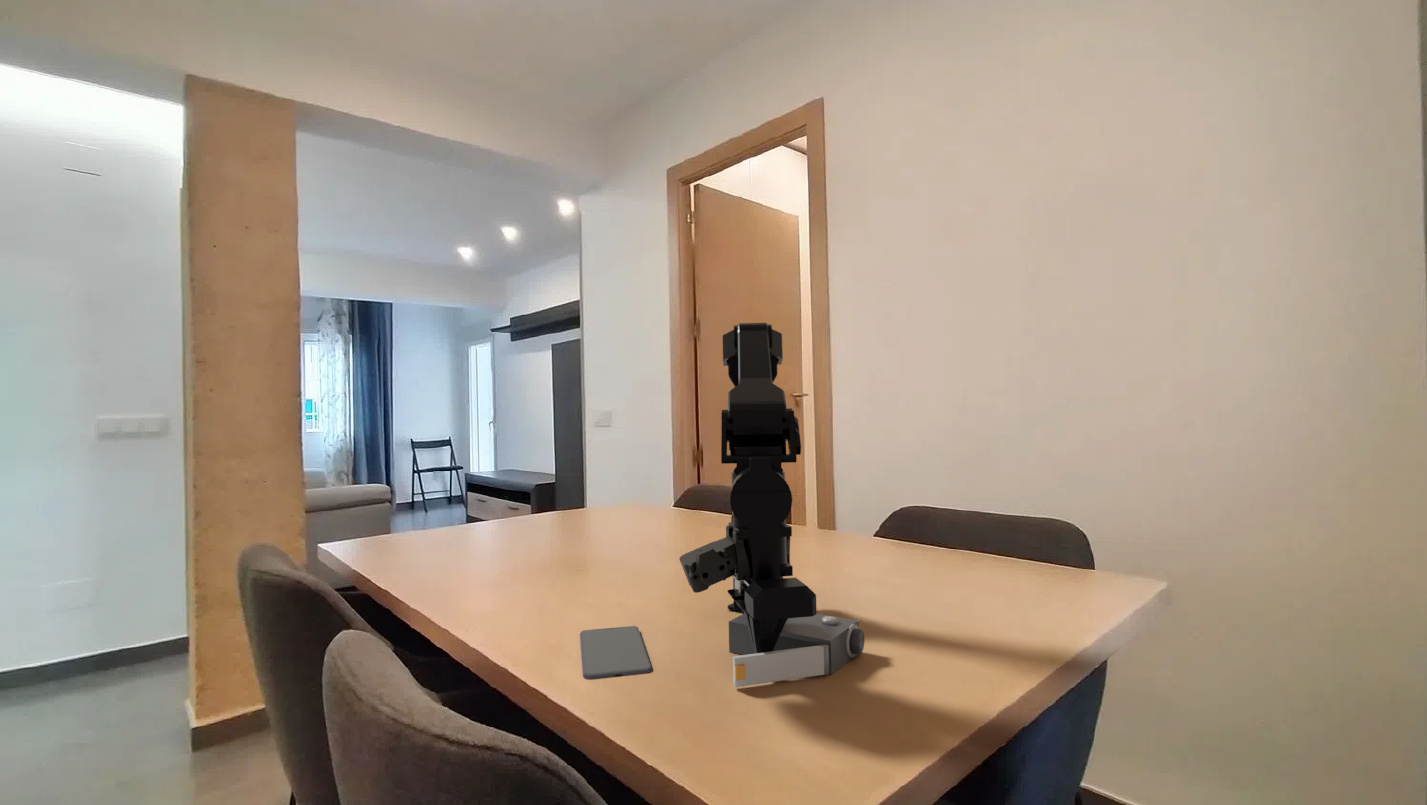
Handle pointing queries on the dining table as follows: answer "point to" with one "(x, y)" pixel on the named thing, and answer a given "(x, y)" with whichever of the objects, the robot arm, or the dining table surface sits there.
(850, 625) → the block
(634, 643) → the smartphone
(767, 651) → the robot arm
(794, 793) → the dining table surface
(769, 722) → the dining table surface
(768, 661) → the side door
